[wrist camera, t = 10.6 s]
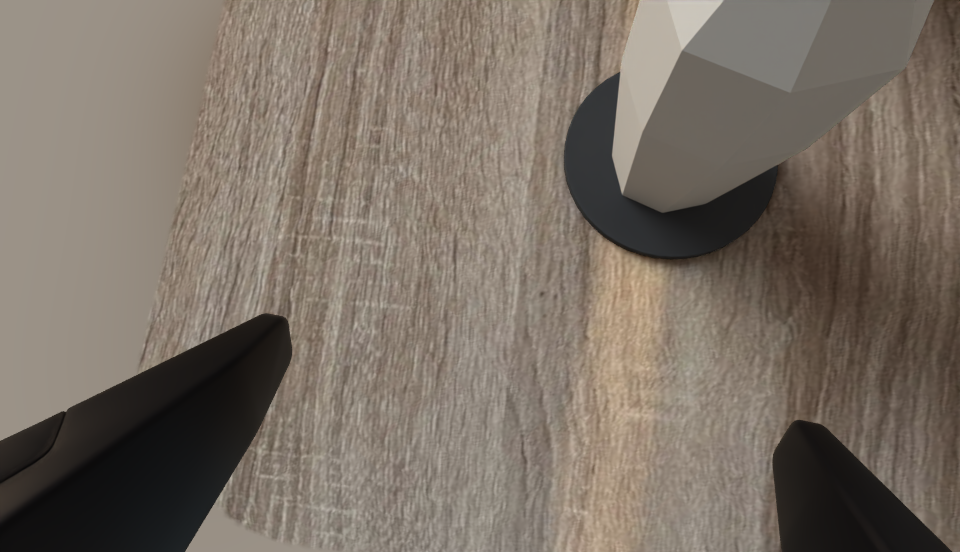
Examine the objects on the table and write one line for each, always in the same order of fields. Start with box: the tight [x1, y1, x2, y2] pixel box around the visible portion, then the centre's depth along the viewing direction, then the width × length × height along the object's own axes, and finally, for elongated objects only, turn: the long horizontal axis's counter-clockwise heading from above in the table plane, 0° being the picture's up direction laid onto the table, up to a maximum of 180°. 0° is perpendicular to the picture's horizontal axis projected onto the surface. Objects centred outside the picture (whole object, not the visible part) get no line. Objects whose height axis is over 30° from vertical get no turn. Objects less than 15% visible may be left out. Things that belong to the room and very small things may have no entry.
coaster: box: [564, 72, 778, 259], centre depth 24 cm, size 9×9×1 cm
